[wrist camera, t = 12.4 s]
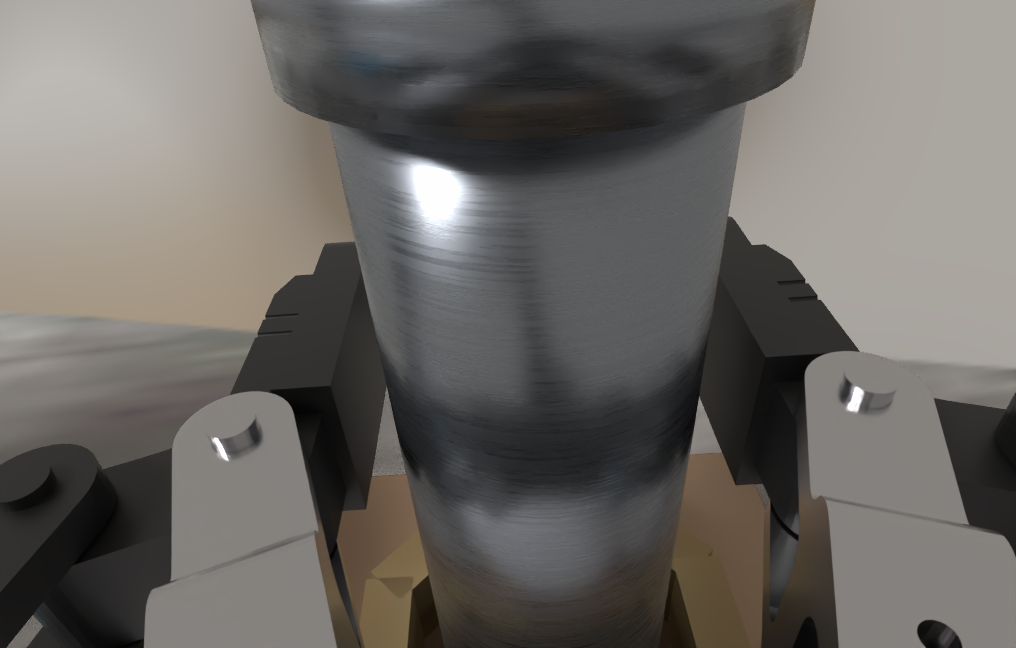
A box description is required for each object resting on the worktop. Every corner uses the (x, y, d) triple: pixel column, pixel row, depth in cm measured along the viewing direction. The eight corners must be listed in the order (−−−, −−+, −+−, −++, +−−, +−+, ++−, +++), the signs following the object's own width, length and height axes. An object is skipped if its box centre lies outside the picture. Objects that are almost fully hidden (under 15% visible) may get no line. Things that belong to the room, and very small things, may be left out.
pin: (433, 833, 12) (114, -48, 4) (443, 589, 16) (304, -102, 7) (696, 815, 12) (995, -109, 4) (642, 575, 16) (724, -132, 7)
